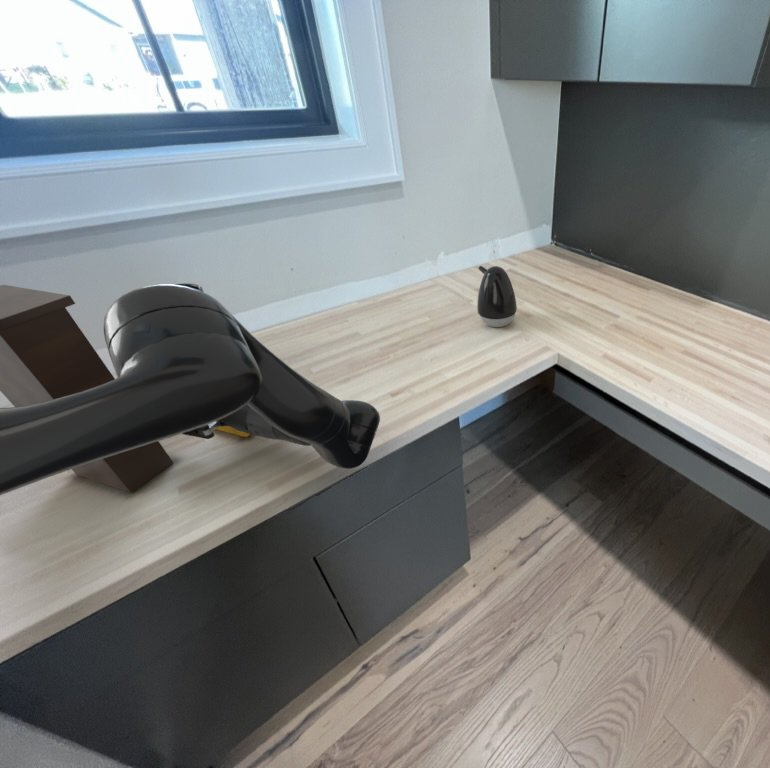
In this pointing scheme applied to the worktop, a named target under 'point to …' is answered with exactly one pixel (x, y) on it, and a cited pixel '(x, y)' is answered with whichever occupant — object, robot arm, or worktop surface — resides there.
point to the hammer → (232, 431)
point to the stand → (62, 375)
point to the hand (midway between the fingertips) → (196, 397)
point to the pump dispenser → (496, 297)
